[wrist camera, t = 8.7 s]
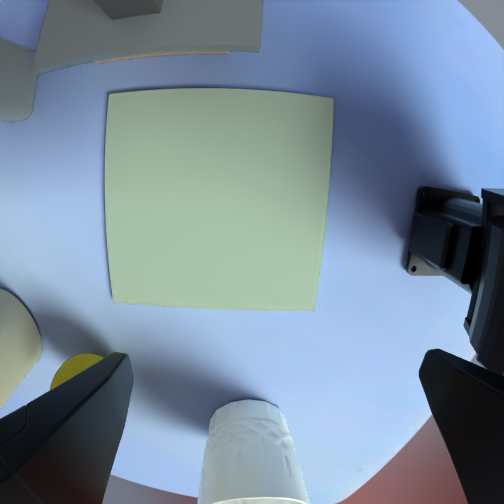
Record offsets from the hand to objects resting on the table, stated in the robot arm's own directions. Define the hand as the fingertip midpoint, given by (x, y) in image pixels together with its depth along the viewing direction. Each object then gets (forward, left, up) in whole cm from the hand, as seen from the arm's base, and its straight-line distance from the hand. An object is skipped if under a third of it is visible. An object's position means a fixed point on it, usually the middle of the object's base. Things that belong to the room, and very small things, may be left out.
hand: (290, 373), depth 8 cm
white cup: (0, +16, -12) cm, 20 cm away
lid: (+7, -17, -8) cm, 20 cm away
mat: (+3, -3, -12) cm, 13 cm away
